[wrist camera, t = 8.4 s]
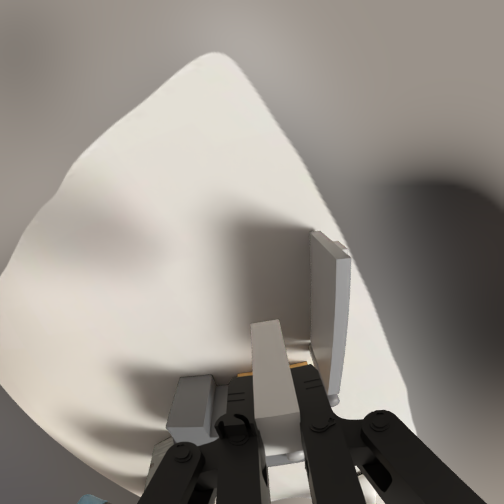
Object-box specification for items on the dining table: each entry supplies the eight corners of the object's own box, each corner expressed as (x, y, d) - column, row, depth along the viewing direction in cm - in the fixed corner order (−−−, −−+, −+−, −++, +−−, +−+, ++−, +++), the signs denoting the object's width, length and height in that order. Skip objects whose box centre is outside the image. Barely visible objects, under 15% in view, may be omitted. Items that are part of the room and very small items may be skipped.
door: (326, 340, 27) (347, 391, 20) (310, 343, 27) (327, 395, 20) (328, 230, 24) (362, 256, 16) (309, 231, 24) (336, 259, 16)
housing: (194, 425, 32) (186, 474, 24) (161, 365, 29) (140, 420, 20) (324, 408, 31) (338, 458, 23) (318, 341, 28) (340, 398, 19)
